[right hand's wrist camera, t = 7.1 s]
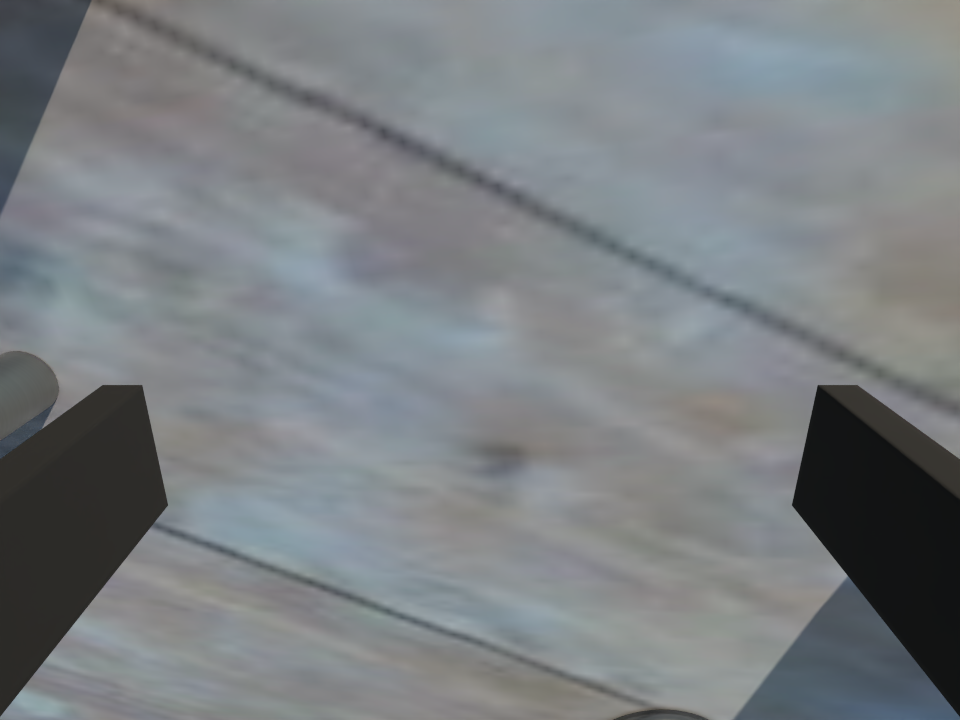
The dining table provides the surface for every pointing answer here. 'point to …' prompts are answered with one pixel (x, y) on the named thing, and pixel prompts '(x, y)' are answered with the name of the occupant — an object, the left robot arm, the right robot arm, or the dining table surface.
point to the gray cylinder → (24, 389)
